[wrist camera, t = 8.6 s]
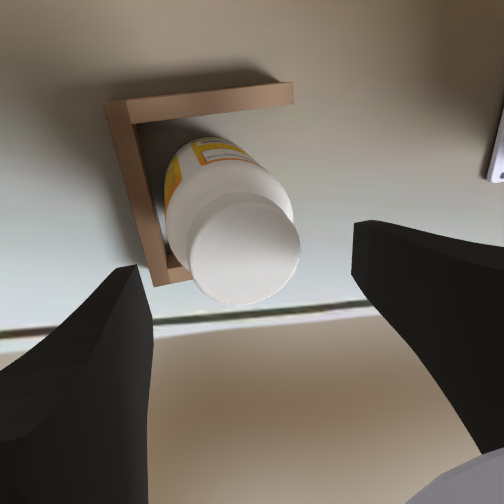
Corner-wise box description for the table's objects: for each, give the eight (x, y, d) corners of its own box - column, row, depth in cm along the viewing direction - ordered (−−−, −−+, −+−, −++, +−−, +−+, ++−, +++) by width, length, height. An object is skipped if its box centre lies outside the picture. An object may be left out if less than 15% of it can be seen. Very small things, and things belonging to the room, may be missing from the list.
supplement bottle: (200, 241, 22) (226, 346, 13) (143, 172, 19) (129, 249, 10) (270, 192, 21) (342, 268, 13) (222, 115, 18) (273, 147, 10)
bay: (280, 81, 18) (293, 81, 17) (287, 244, 23) (298, 257, 21) (108, 100, 17) (102, 103, 15) (154, 270, 22) (153, 287, 20)
